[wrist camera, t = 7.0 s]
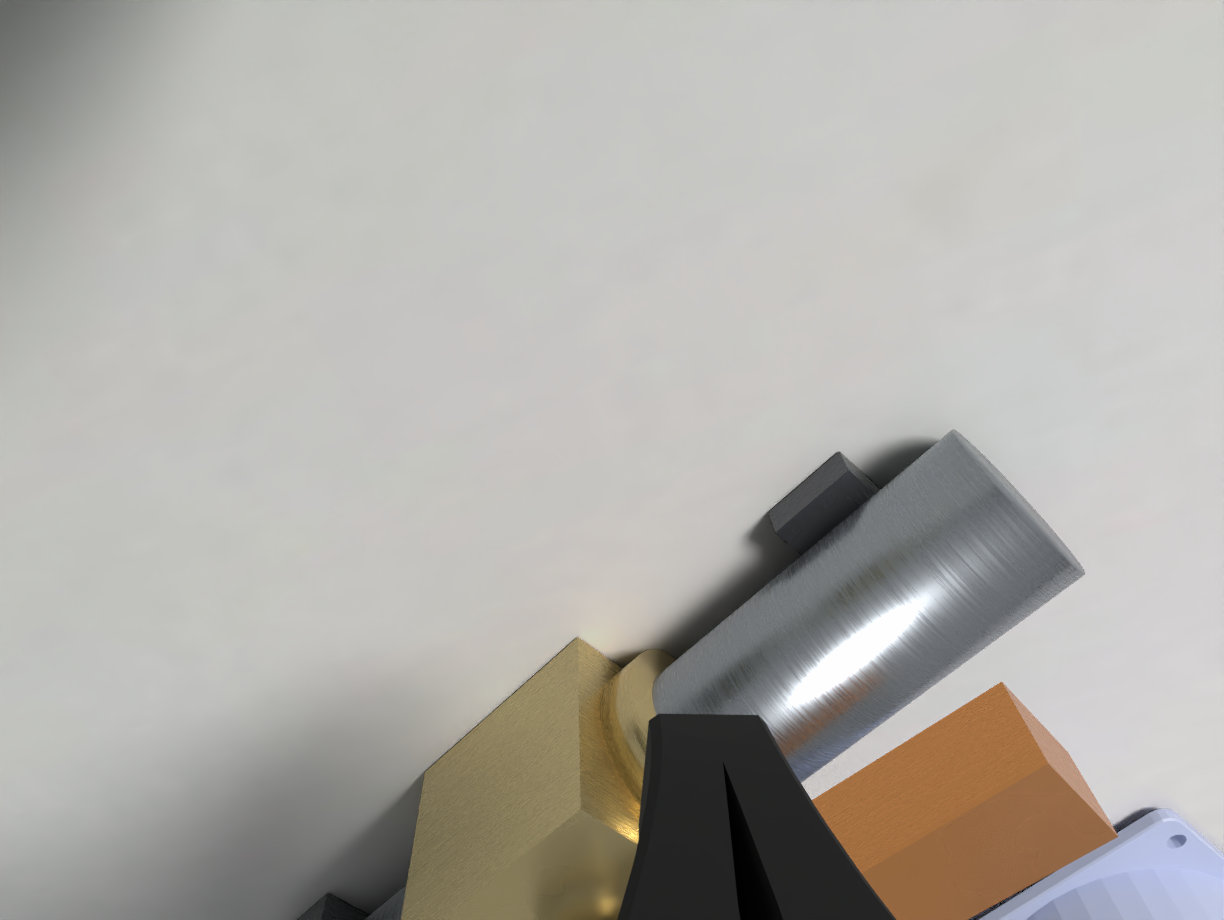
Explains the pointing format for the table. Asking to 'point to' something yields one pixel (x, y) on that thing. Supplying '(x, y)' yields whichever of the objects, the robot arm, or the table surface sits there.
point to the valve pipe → (730, 685)
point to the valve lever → (966, 812)
